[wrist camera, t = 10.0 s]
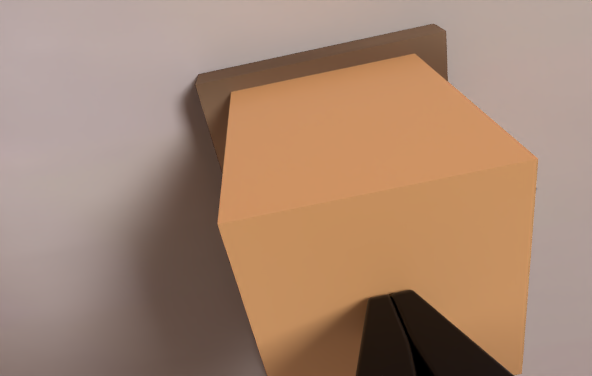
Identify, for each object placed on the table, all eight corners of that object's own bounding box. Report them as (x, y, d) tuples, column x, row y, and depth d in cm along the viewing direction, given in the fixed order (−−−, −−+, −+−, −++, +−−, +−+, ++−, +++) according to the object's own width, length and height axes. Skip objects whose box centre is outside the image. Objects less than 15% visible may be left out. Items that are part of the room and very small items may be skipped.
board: (449, 380, 22) (457, 399, 21) (299, 410, 22) (301, 430, 21) (433, 23, 14) (446, 31, 13) (198, 74, 14) (195, 84, 13)
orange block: (424, 208, 16) (521, 373, 10) (270, 239, 16) (282, 420, 10) (414, 53, 13) (538, 158, 8) (231, 91, 13) (217, 224, 8)
